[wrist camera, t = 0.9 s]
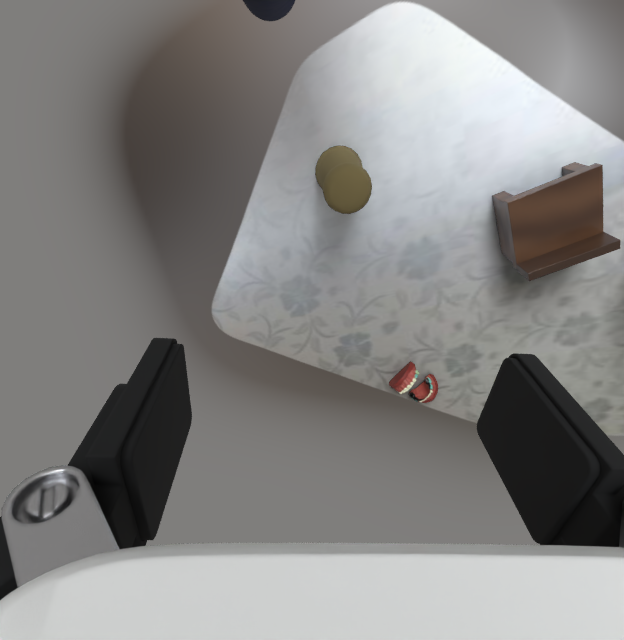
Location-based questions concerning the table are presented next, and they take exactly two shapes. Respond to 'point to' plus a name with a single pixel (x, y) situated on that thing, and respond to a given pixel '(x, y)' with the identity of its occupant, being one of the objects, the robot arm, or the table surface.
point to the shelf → (554, 222)
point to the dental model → (406, 379)
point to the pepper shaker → (343, 179)
